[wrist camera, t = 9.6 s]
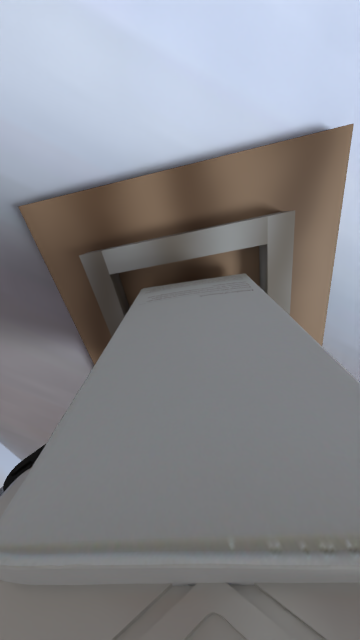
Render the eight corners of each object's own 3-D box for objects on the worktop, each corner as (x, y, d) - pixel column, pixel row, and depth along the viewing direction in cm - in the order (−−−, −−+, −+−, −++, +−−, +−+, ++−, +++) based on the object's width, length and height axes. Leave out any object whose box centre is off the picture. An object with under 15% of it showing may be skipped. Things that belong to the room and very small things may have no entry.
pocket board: (338, 132, 12) (379, 108, 9) (308, 385, 20) (325, 408, 18) (31, 207, 14) (-3, 205, 11) (122, 406, 23) (114, 429, 20)
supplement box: (139, 285, 14) (-63, 568, 3) (247, 270, 13) (597, 564, 2) (159, 368, 17) (107, 654, 6) (247, 360, 17) (380, 664, 5)
